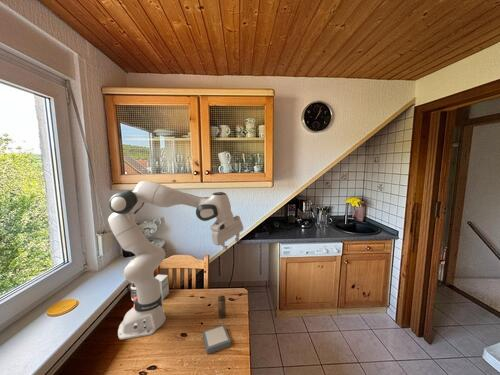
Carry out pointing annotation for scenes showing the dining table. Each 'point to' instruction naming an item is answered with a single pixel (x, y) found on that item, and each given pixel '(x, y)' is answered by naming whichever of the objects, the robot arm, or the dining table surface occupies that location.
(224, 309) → the pepper mill
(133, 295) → the decorative candle
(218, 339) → the base
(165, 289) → the supplement box
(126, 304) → the dining table surface
